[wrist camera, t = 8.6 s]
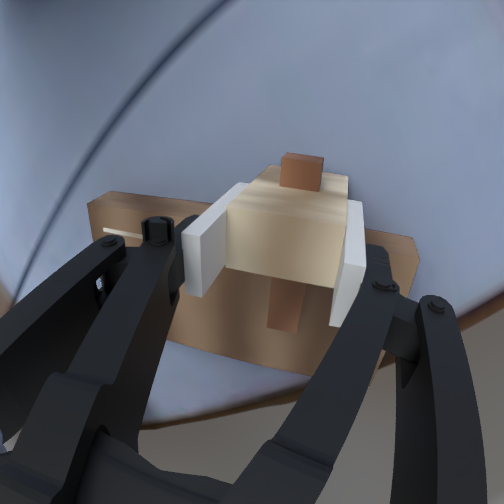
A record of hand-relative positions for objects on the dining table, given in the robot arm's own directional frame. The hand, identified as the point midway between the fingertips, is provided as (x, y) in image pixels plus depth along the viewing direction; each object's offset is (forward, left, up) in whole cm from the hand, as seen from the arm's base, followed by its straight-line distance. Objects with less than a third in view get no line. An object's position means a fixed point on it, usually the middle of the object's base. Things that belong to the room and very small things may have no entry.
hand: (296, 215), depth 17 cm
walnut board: (-4, -8, -5) cm, 10 cm away
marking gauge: (0, -3, -4) cm, 5 cm away
